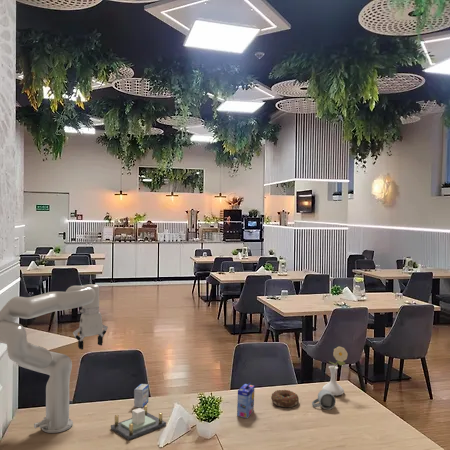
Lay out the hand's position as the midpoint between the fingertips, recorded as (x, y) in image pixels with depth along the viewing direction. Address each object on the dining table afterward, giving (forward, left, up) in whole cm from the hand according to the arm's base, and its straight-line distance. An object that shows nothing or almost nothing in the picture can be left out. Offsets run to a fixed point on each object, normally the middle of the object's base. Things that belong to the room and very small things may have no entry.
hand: (90, 346), depth 207 cm
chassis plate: (+7, -30, -30) cm, 43 cm away
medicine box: (+22, -10, -31) cm, 39 cm away
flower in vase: (+103, -69, -31) cm, 128 cm away
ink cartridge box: (+51, -53, -31) cm, 80 cm away
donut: (+74, -58, -31) cm, 99 cm away
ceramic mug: (+84, -74, -31) cm, 116 cm away
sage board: (+7, -30, -29) cm, 42 cm away
